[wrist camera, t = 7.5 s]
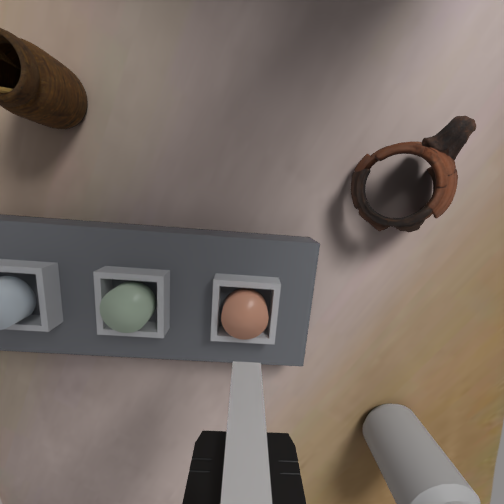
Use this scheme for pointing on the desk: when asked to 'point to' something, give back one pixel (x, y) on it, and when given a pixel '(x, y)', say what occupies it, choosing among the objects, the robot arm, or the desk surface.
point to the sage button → (128, 306)
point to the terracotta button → (244, 314)
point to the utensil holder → (38, 85)
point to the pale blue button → (15, 301)
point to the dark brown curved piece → (442, 170)
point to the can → (413, 459)
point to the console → (156, 289)
